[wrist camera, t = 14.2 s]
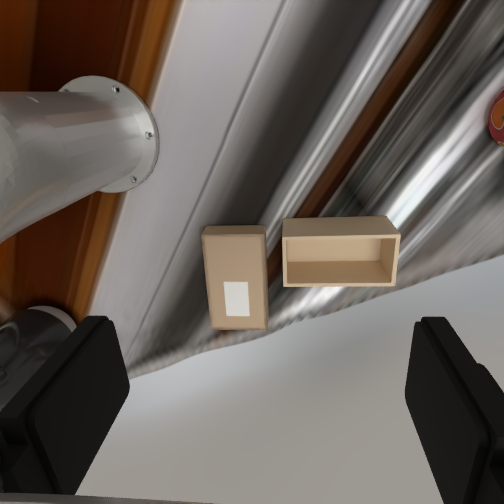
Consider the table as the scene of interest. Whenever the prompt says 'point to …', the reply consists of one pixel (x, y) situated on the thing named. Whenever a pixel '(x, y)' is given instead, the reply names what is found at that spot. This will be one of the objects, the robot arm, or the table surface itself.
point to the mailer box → (339, 251)
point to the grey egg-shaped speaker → (29, 345)
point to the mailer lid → (236, 276)
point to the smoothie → (497, 120)
